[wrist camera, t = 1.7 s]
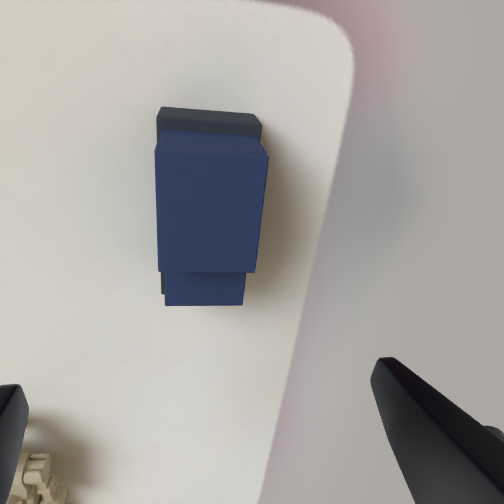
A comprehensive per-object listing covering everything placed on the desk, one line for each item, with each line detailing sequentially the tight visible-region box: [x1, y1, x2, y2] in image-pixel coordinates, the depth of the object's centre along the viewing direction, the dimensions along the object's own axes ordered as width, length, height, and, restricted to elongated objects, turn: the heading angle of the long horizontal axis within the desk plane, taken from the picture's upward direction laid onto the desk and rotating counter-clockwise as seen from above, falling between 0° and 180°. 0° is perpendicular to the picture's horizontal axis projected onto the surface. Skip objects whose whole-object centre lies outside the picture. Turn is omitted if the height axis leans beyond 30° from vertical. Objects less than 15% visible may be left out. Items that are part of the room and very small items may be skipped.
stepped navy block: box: [155, 107, 269, 306], centre depth 17 cm, size 9×4×6 cm, turn 174°
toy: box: [6, 452, 68, 504], centre depth 27 cm, size 6×4×15 cm
